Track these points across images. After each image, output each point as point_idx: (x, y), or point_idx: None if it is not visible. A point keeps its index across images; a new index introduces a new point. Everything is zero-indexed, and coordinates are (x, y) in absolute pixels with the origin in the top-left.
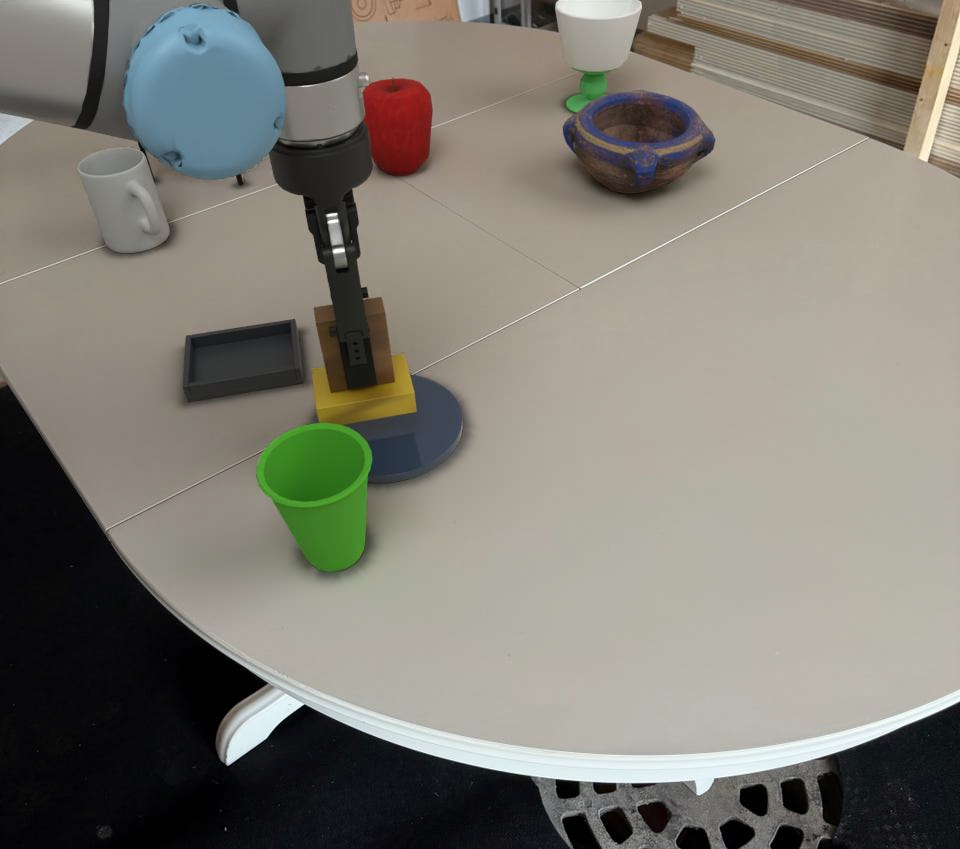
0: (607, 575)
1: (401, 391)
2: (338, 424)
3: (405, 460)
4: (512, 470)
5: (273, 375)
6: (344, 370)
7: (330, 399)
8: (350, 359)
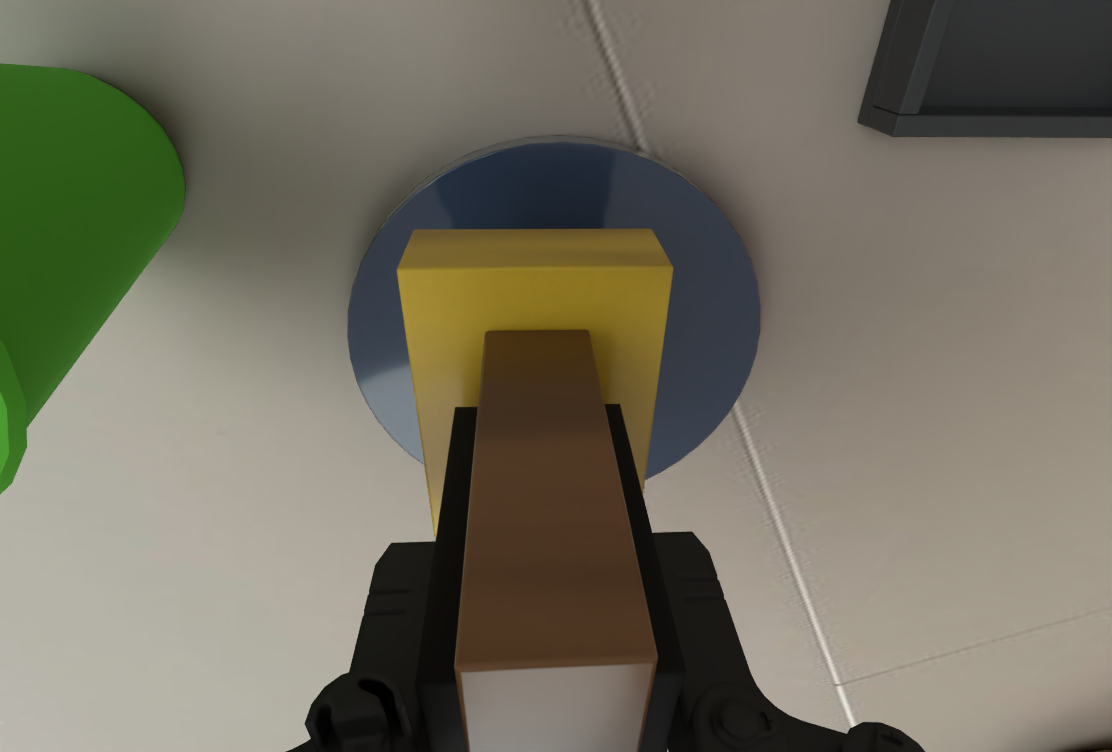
0: (108, 610)
1: None
2: (11, 453)
3: (398, 379)
4: (369, 538)
5: (919, 18)
6: (447, 473)
7: (447, 326)
8: (374, 581)
